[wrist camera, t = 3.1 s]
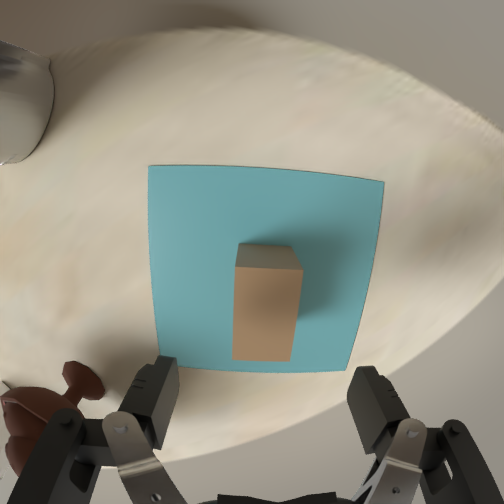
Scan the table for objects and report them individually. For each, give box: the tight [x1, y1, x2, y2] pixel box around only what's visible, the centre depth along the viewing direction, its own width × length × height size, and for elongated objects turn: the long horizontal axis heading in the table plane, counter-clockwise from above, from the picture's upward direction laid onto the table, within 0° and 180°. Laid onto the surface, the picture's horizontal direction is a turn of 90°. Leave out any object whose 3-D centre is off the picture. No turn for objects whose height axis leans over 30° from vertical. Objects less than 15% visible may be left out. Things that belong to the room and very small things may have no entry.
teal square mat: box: [148, 166, 384, 373], centre depth 17 cm, size 16×16×5 cm
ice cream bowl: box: [0, 361, 105, 477], centre depth 15 cm, size 11×11×15 cm
